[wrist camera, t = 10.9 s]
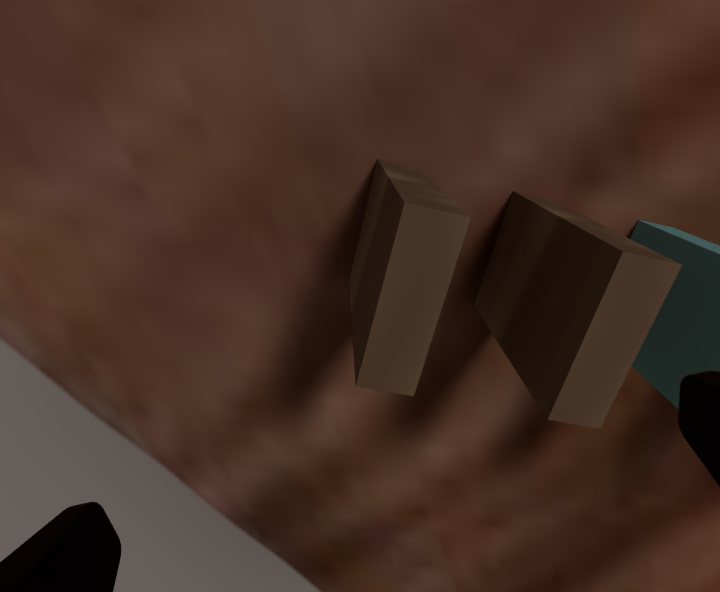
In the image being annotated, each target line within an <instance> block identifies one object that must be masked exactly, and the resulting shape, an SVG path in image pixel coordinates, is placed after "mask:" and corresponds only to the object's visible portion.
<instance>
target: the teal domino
mask: <svg viewBox="0 0 720 592" xmlns="http://www.w3.org/2000/svg"><path fill="white" fill-rule="evenodd" d="M630 239H631V240H633V241H635V242H637V243H639V244H641V245H643V246H645V247H647V248H649V249H651V250H653V251H655V252H657V253H659V254H661V255H663V256H665V257H667V258H669V259H671V260H673V261H675V262H677V263H679V264H681V265H682V266H681V268H680V270H679V272H678V274H677V276H676V278H675V280H674V282H673V284H672V286H671V288H670V290H669V292H668V294H667V296H666V298H665V300H664V302H663V304H662V306H661V308H660V310H659V312H658V314H657V316H656V318H655V320H654V322H653V324H652V326H651V328H650V330H649V332H648V334H647V336H646V338H645V340H644V342H643V344H642V346H641V348H640V350H639V352H638V354H637V356H636V358H635V360H634V362H633V364H632V367H633V368H634V369H635V370H636V371H638V372H639V373H640V374H641V375H642V376H643V377H644V378H645V379H646V380H647V381H648V382H649V383H650V384H652V385H653V386H654V387H655V388H656V389H657V390H658V391H659V392H660V393H661V394H662V395H663V396H665V397H666V398H667V399H668V400H669V401H670V402H671V403H672V404H673V405H674V406H675V407H676V408H677V409H679V392H680V382H681V380H682V378H683V377H685V376H686V375H689V374H694V373H699V372H703V371H709V370H712V371H718V372H720V246H718V245H716V244H713V243H711V242H708V241H706V240H703V239H701V238H698V237H696V236H693V235H691V234H688V233H686V232H683V231H681V230H678V229H676V228H673V227H668V226H664V225H659V224H654V223H650V222H645V221H641V220H638V222H637V224H636V226H635V229H634V231H633V233H632V236H631V238H630Z"/></svg>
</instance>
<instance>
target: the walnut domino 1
mask: <svg viewBox="0 0 720 592" xmlns="http://www.w3.org/2000/svg"><path fill="white" fill-rule="evenodd" d="M470 219H471V217H470V216H469V215H468V214H467V213H466V212H465V211H463V210H462V209H461V208H460V207H459V206H458V205H457V204H456V203H455V202H454V201H453V200H451V199H450V198H449V197H448V196H447V195H446V194H445V193H444V192H443V191H442V190H441V189H440V188H438V187H437V186H436V185H435V184H434V183H433V182H432V181H431V180H430V179H429V178H428V177H426V176H425V175H424V174H423V173H422V172H421V171H420V170H419V169H417V168H413V167H409V166H404V165H400V164H396V163H391V162H387V161H383V160H379V159H377V163H376V168H375V172H374V176H373V180H372V184H371V189H370V193H369V197H368V201H367V206H366V210H365V214H364V218H363V222H362V227H361V231H360V235H359V239H358V244H357V248H356V252H355V256H354V260H353V265H352V269H351V273H350V277H349V290H350V305H351V321H352V336H353V351H354V367H355V382H356V387H362V388H368V389H374V390H379V391H385V392H391V393H397V394H403V395H408V396H414V394H415V391H416V388H417V385H418V382H419V379H420V375H421V372H422V369H423V366H424V363H425V360H426V357H427V354H428V350H429V347H430V344H431V341H432V338H433V335H434V332H435V329H436V325H437V322H438V319H439V316H440V313H441V310H442V307H443V303H444V300H445V297H446V294H447V291H448V288H449V285H450V282H451V278H452V275H453V272H454V269H455V266H456V263H457V260H458V257H459V253H460V250H461V247H462V244H463V241H464V238H465V235H466V232H467V228H468V225H469V222H470Z"/></svg>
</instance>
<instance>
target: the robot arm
mask: <svg viewBox="0 0 720 592" xmlns="http://www.w3.org/2000/svg"><path fill="white" fill-rule="evenodd" d="M678 423H679V427H680V430H681V432H682V434H683V436H684V438H685V439H686V441H687V442H688V443H689V445H690V446H691V448H692V449H693V450H694V452H695V453H696V455H697V456H698V457H699V459H700V460H701V462H702V463H703V464H704V466H705V467H706V469H707V470H708V471H709V473H710V474H711V475H712V477H713V478H714V480H715V481H716V482H717V484H718V485H719V487H720V372H718V371H712V370H709V371H703V372H699V373H694V374H689V375H686V376H685V377H683V378H682V380H681V382H680V392H679V410H678ZM120 557H121V543H120V539H119V537H118V535H117V534H116V531H115V530H114V528H113V526H112V524H111V522H110V520H109V518H108V517H107V515H106V513H105V511H104V509H103V508H102V507H101V505H100V504H98V503H97V502H89V503H84V504H79V505H75V506H71V507H68V508H67V509H65V510H64V511H62V512H61V513H60V514H59V515H58V516H56V517H55V518H54V519H53V520H51V521H50V522H49V523H48V524H47V525H45V526H44V527H43V528H42V529H40V530H39V531H38V532H37V533H36V534H34V535H33V536H32V537H31V538H29V539H28V540H27V541H26V542H24V544H22V545H21V546H20V547H19V548H17V549H16V550H15V551H13V552H12V553H11V554H10V555H9V556H7V557H6V558H5V559H4V560H3V561H1V562H0V592H113V589H114V585H115V580H116V575H117V571H118V566H119V562H120Z"/></svg>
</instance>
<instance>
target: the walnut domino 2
mask: <svg viewBox="0 0 720 592" xmlns="http://www.w3.org/2000/svg"><path fill="white" fill-rule="evenodd" d="M681 266H682V265H681V264H679V263H677V262H675V261H673V260H671V259H669V258H667V257H665V256H663V255H661V254H659V253H657V252H655V251H653V250H651V249H649V248H647V247H645V246H643V245H641V244H639V243H637V242H635V241H633V240H631V239H629V238H627V237H625V236H623V235H621V234H619V233H617V232H615V231H613V230H611V229H609V228H607V227H605V226H603V225H601V224H599V223H597V222H594V221H592V220H590V219H588V218H586V217H584V216H582V215H580V214H578V213H576V212H574V211H572V210H570V209H568V208H566V207H564V206H562V205H560V204H558V203H556V202H554V201H552V200H549V199H545V198H541V197H536V196H532V195H528V194H524V193H519V192H515V191H513V193H512V196H511V199H510V201H509V204H508V207H507V210H506V213H505V216H504V219H503V222H502V225H501V228H500V230H499V233H498V236H497V239H496V242H495V245H494V248H493V251H492V254H491V257H490V259H489V262H488V265H487V268H486V271H485V274H484V277H483V280H482V283H481V285H480V288H479V291H478V294H477V297H476V300H475V303H474V306H475V308H476V310H477V311H478V313H479V314H480V316H481V317H482V319H483V320H484V322H485V324H486V325H487V327H488V328H489V330H490V331H491V333H492V334H493V336H494V337H495V339H496V341H497V342H498V344H499V345H500V347H501V348H502V350H503V351H504V353H505V354H506V356H507V358H508V359H509V361H510V362H511V364H512V365H513V367H514V368H515V370H516V371H517V373H518V375H519V376H520V378H521V379H522V381H523V382H524V384H525V385H526V387H527V388H528V390H529V392H530V393H531V395H532V396H533V398H534V399H535V401H536V402H537V404H538V405H539V407H540V409H541V410H542V412H543V413H544V415H545V416H546V418H547V419H548V420H552V421H558V422H564V423H570V424H575V425H581V426H587V427H593V428H598V429H600V428H601V426H602V424H603V422H604V420H605V418H606V416H607V414H608V412H609V410H610V408H611V406H612V404H613V402H614V400H615V398H616V396H617V394H618V392H619V390H620V388H621V386H622V384H623V382H624V380H625V378H626V376H627V374H628V372H629V370H630V368H631V366H632V364H633V362H634V360H635V358H636V356H637V354H638V352H639V350H640V348H641V346H642V344H643V342H644V340H645V338H646V336H647V334H648V332H649V330H650V328H651V326H652V324H653V322H654V320H655V318H656V316H657V314H658V312H659V310H660V308H661V306H662V304H663V302H664V300H665V298H666V296H667V294H668V292H669V290H670V288H671V286H672V284H673V282H674V280H675V278H676V276H677V274H678V272H679V270H680V268H681Z"/></svg>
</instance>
